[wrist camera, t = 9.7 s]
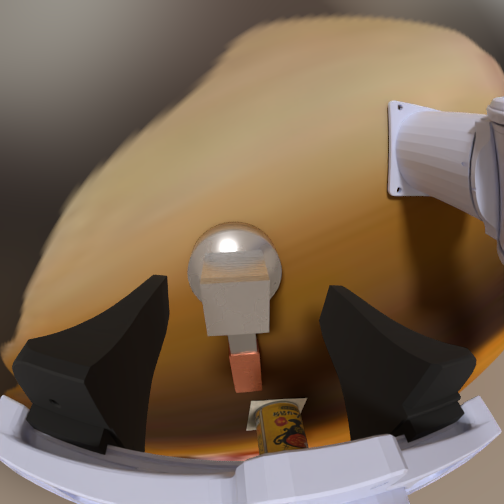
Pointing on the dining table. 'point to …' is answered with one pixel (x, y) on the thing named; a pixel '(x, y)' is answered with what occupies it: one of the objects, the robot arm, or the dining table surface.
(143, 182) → the dining table surface
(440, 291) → the dining table surface
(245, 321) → the brushed metal cube
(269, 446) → the condiment
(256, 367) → the metal scoop
